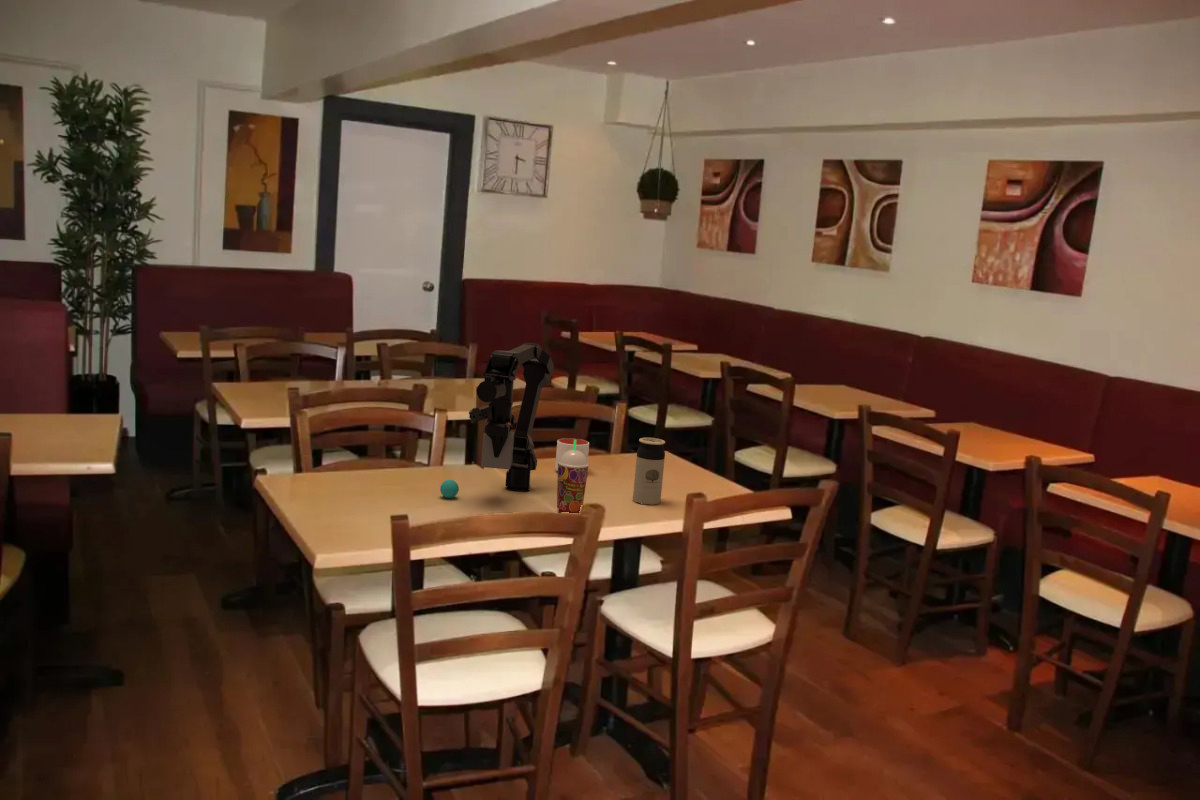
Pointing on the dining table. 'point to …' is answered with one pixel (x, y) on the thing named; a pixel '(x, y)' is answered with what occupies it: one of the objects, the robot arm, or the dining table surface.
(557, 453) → the cup
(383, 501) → the dining table surface
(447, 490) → the ball
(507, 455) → the grey matte cube
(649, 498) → the travel mug
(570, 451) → the smoothie
